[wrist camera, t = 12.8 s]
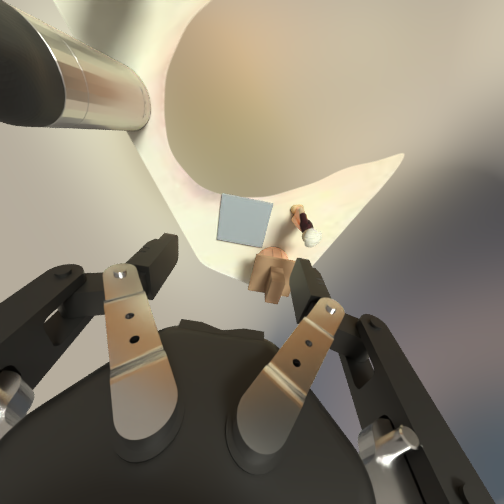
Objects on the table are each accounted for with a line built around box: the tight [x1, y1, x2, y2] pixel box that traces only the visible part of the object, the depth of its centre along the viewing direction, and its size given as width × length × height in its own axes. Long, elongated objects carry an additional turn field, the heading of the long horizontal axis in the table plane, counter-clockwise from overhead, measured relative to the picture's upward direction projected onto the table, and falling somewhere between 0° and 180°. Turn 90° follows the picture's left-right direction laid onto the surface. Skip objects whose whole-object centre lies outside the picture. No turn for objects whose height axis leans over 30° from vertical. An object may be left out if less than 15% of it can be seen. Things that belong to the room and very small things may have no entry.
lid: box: [248, 254, 296, 304], centre depth 42 cm, size 10×10×6 cm
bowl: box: [259, 247, 288, 260], centre depth 46 cm, size 8×8×6 cm
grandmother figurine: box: [291, 205, 322, 247], centre depth 37 cm, size 8×4×13 cm, turn 36°
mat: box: [217, 193, 273, 248], centre depth 43 cm, size 11×11×1 cm
